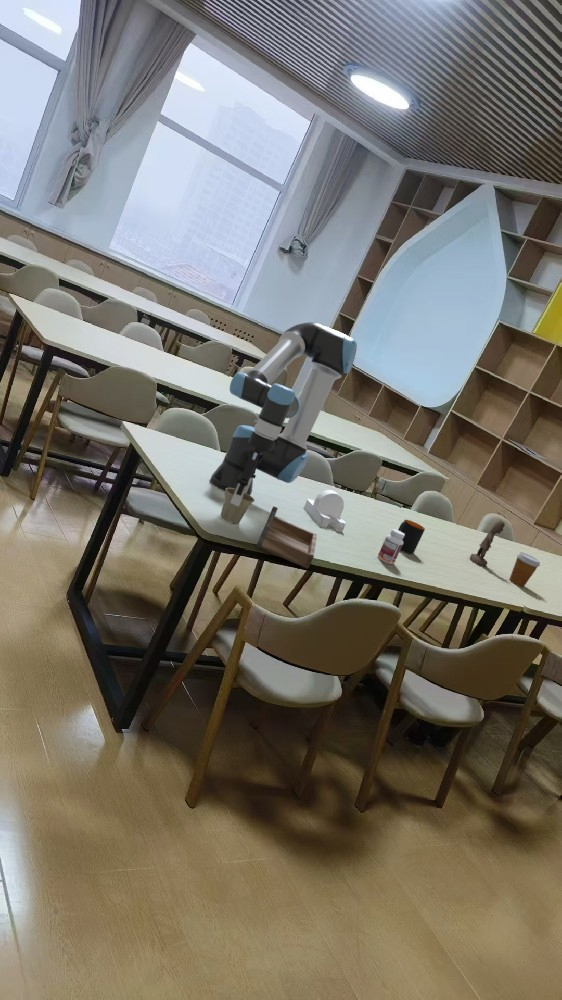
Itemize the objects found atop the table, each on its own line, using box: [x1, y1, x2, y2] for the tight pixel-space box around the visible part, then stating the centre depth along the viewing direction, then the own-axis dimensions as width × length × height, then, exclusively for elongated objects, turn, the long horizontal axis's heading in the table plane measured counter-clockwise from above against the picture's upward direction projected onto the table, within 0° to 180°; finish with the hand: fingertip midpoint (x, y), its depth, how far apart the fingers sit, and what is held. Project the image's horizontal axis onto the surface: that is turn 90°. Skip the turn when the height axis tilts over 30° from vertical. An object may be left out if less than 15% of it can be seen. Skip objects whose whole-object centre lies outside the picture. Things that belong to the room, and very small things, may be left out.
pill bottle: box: [377, 528, 405, 565], centre depth 258 cm, size 6×6×11 cm
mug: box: [397, 519, 426, 555], centre depth 286 cm, size 8×12×10 cm
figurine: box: [469, 519, 506, 567], centre depth 314 cm, size 9×8×20 cm
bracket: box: [303, 489, 347, 533], centre depth 277 cm, size 19×10×11 cm, turn 16°
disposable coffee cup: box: [509, 552, 541, 588], centre depth 307 cm, size 10×10×12 cm
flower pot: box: [220, 488, 255, 525], centre depth 229 cm, size 9×9×9 cm
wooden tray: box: [255, 506, 318, 570], centre depth 227 cm, size 25×16×7 cm, turn 174°
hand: (237, 500), depth 228 cm, fingers open, 13 cm apart
